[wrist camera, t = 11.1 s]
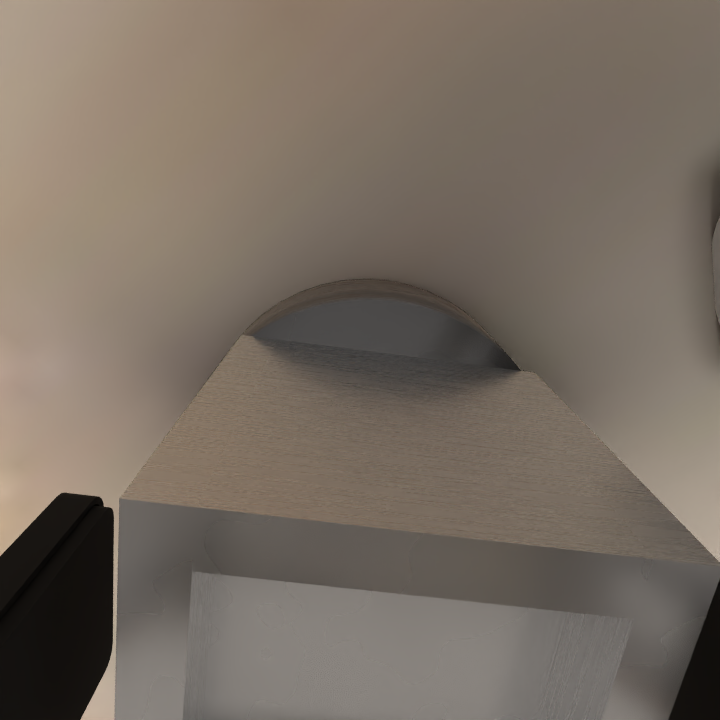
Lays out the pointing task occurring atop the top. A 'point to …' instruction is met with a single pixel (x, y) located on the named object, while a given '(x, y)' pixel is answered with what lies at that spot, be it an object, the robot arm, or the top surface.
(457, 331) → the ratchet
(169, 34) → the top surface
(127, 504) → the socket
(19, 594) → the robot arm
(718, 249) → the flashlight
